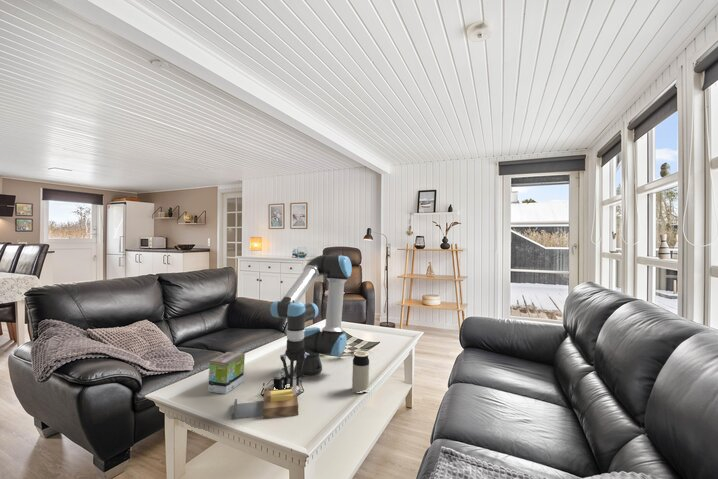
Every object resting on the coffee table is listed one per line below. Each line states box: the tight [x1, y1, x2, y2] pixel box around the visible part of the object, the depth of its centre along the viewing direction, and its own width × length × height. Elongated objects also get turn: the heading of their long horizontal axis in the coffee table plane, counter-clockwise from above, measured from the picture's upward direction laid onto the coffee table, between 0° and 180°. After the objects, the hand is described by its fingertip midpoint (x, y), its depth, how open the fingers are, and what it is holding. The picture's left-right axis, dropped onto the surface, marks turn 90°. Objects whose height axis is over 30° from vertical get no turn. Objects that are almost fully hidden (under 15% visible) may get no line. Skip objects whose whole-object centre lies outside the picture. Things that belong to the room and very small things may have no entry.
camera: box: [273, 364, 295, 390], centre depth 161 cm, size 15×7×10 cm, turn 161°
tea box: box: [207, 351, 246, 395], centre depth 161 cm, size 15×10×15 cm, turn 168°
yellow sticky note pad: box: [270, 388, 293, 402], centre depth 142 cm, size 9×6×2 cm, turn 105°
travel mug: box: [351, 350, 370, 393], centre depth 161 cm, size 8×8×18 cm
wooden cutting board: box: [262, 388, 299, 420], centre depth 142 cm, size 14×16×4 cm
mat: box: [231, 398, 264, 420], centre depth 139 cm, size 12×12×2 cm
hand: (294, 393), depth 144 cm, fingers closed
